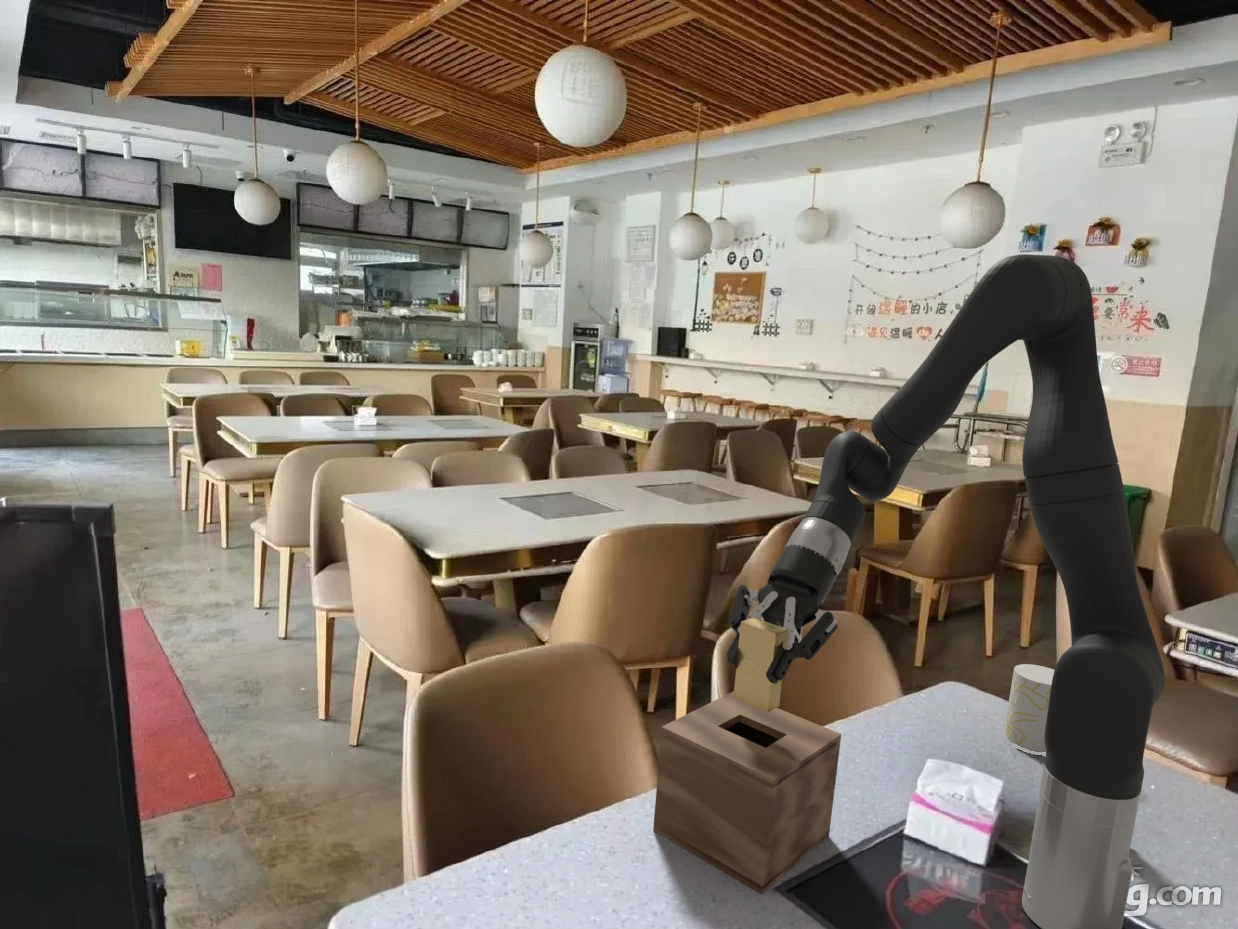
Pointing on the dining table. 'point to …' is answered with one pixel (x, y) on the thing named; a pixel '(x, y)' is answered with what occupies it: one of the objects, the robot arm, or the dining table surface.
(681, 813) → the box
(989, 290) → the robot arm
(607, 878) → the dining table surface
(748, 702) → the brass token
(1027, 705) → the cup
